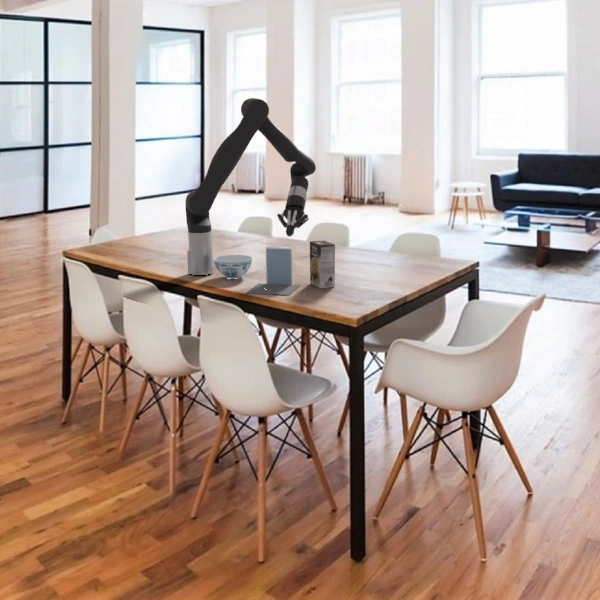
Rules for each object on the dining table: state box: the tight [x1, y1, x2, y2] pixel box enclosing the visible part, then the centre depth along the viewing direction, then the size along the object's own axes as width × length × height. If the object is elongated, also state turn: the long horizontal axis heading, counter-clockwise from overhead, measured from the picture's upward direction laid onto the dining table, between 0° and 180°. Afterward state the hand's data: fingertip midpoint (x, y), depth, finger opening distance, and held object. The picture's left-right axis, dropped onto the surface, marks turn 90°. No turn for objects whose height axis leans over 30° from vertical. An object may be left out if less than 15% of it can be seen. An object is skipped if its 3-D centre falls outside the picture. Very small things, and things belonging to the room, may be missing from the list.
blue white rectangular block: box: [265, 246, 295, 285], centre depth 270 cm, size 10×3×14 cm, turn 76°
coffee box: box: [309, 240, 336, 289], centre depth 267 cm, size 9×6×16 cm
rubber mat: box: [245, 283, 300, 296], centre depth 263 cm, size 16×15×1 cm
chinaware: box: [213, 254, 253, 279], centre depth 283 cm, size 15×15×8 cm
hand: (289, 235), depth 281 cm, fingers closed
